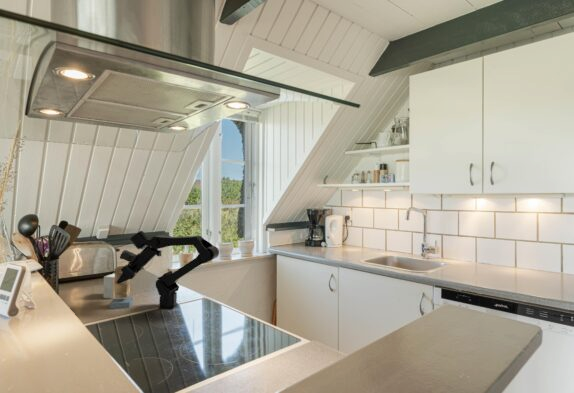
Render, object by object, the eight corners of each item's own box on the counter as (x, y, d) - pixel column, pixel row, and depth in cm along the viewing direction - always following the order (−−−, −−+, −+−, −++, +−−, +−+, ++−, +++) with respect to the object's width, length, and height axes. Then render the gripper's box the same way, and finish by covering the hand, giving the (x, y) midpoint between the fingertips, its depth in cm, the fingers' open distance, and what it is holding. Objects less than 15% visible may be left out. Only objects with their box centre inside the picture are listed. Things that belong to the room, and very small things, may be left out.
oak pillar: (129, 294, 160) (129, 266, 159) (126, 297, 155) (126, 268, 154) (118, 294, 159) (118, 266, 158) (114, 297, 154) (114, 268, 154)
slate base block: (133, 303, 162) (133, 296, 162) (129, 309, 154) (129, 302, 154) (114, 303, 160) (114, 297, 160) (109, 310, 152) (109, 303, 152)
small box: (113, 299, 165) (113, 277, 165) (103, 298, 166) (103, 276, 166) (124, 294, 173) (124, 273, 173) (114, 293, 174) (114, 272, 174)
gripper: (136, 241, 166) (112, 264, 164) (126, 248, 148) (98, 274, 146) (154, 257, 168) (129, 280, 166) (145, 265, 149) (118, 292, 148)
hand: (119, 281), depth 156 cm, fingers closed on oak pillar, 5 cm apart
